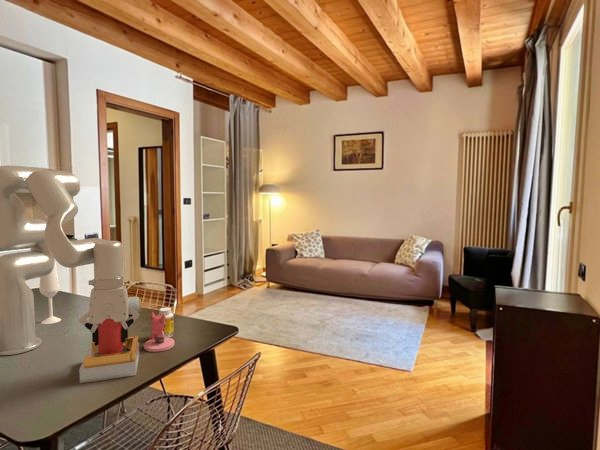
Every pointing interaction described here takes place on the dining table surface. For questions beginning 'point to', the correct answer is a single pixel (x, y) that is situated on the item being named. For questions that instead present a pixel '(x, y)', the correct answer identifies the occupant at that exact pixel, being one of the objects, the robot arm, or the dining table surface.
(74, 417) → the dining table surface
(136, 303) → the ceramic mug
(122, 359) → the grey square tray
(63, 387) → the dining table surface
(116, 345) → the beer can
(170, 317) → the supplement bottle
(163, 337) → the toy figure
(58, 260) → the robot arm
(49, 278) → the champagne flute
